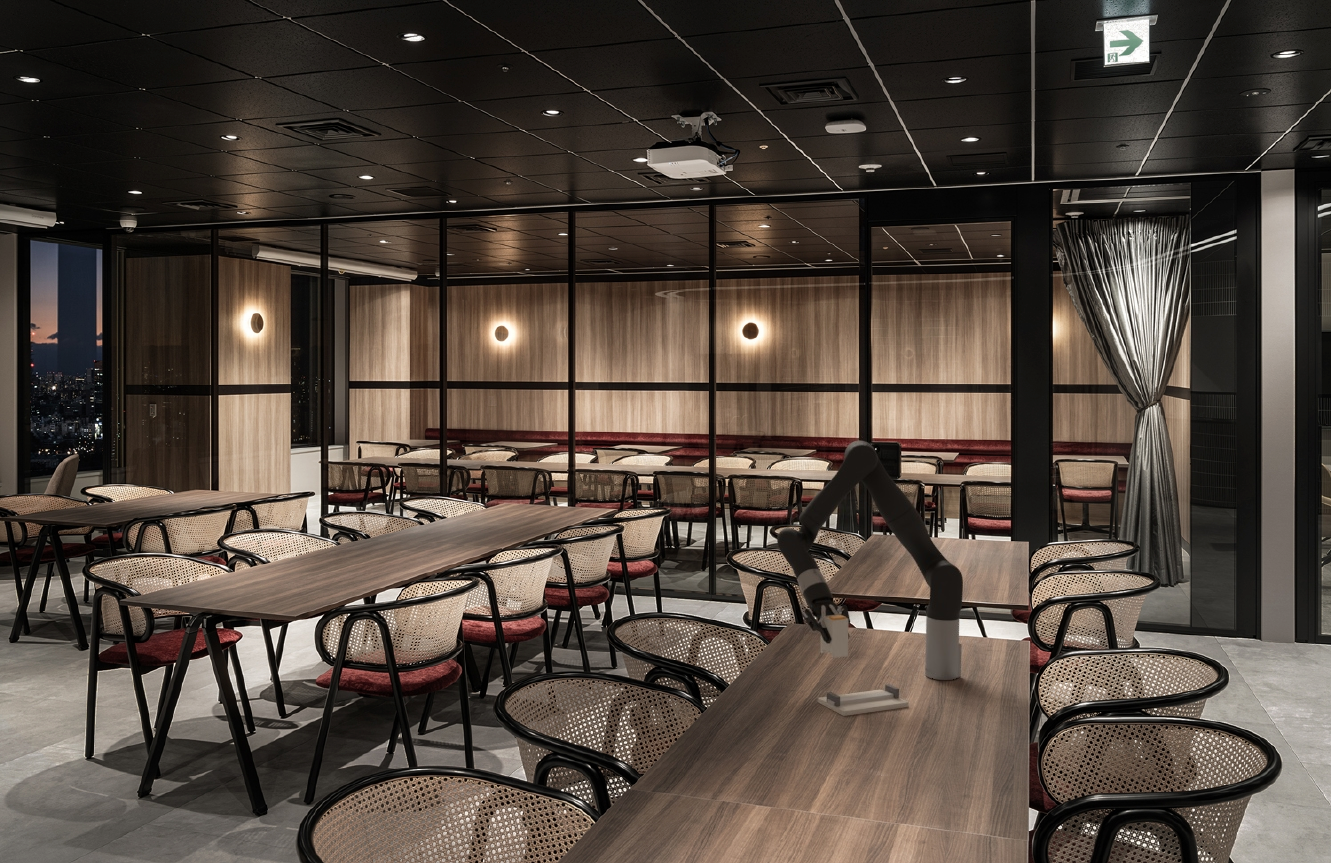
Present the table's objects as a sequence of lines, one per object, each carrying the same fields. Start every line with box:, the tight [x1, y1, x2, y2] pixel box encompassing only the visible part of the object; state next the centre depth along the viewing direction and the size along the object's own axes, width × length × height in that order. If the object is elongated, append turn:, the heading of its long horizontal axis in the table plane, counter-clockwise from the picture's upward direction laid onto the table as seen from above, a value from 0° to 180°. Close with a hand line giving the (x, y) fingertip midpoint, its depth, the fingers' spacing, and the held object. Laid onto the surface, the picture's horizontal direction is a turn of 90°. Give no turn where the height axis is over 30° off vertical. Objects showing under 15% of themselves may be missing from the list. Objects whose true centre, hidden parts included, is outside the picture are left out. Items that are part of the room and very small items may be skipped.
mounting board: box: [817, 683, 910, 717], centre depth 264 cm, size 20×12×4 cm, turn 114°
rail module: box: [819, 615, 849, 659], centre depth 277 cm, size 5×6×11 cm
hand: (838, 640), depth 275 cm, fingers closed on rail module, 5 cm apart
